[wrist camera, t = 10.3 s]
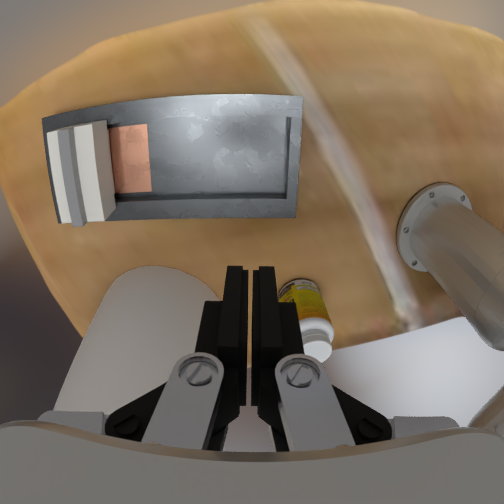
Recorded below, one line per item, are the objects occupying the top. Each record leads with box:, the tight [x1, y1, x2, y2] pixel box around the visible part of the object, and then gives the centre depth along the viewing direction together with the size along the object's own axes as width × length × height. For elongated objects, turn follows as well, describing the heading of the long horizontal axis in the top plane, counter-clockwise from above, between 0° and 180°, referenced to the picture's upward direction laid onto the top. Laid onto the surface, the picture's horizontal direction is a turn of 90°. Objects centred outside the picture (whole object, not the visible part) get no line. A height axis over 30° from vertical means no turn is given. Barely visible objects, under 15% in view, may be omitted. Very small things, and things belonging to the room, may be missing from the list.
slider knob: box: [47, 120, 116, 227], centre depth 25 cm, size 5×9×6 cm, turn 179°
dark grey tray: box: [42, 94, 303, 223], centre depth 28 cm, size 26×12×3 cm, turn 89°
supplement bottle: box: [278, 280, 334, 362], centre depth 35 cm, size 6×6×10 cm
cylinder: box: [54, 266, 225, 451], centre depth 28 cm, size 17×17×28 cm
